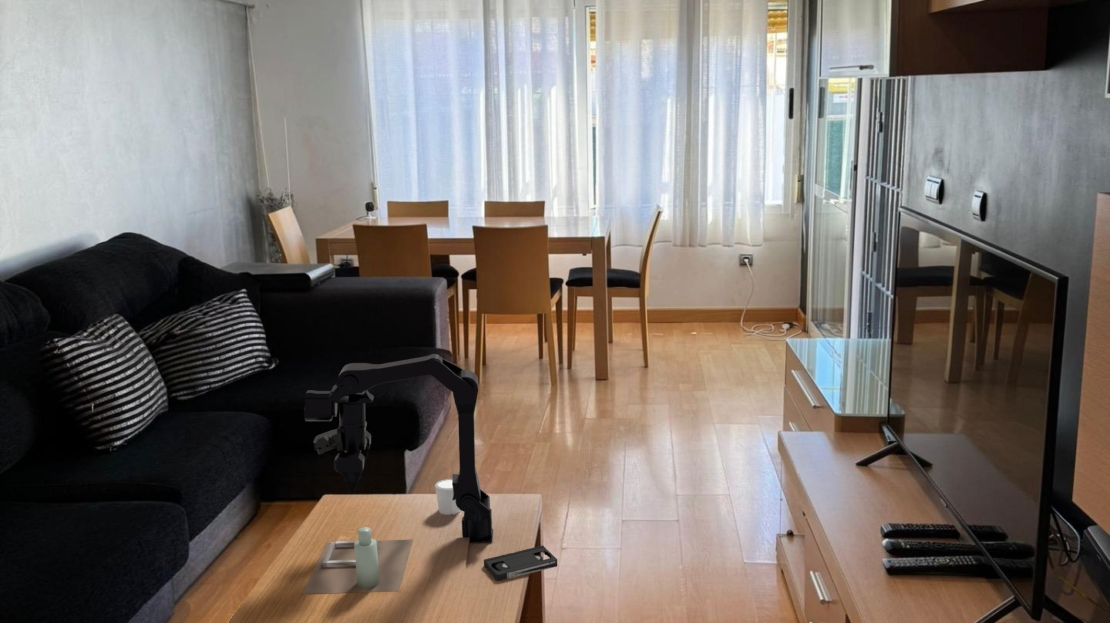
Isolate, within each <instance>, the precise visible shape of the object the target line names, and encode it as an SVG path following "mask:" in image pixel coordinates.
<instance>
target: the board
mask: <svg viewBox="0 0 1110 623" xmlns="http://www.w3.org/2000/svg"><path fill="white" fill-rule="evenodd" d="M375 540H376V542H377V555H378V568H379V584H378V585H376V586H374V587H371V588H361V587H359V586H358V585H357V574H356V561H355V548H354V543H355V542H356V541H357V540H342V541H341V540H340V541H338V540H337V541H336V540H335V541H331V542H329V541H326V543H325V544H324V546H323V549H322V550H321V552H320V555H319V557H318V559H317V562H316V563H315V566H314V568H313V570H312V572H311V574H310V577H309V578H308V581H307V583H306V585H305V587H304V589H303V591H302V594H301V595H303V596H304V595H305V596H306V595H329V594H330V595H332V594H333V595H334V594H353V593H354V594H355V593H380V592H382V593H384V592H388V593H389V592H400V590H401V589H400V588H401V586H402V581H403V578H404V576H405V571H406V567H407V565H408V561H409V556H410V553H411V549H412V545H413V542H414V539H413V538H412V539H386V540H385V539H384V540H378V539H375Z"/></svg>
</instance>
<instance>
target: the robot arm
mask: <svg viewBox="0 0 1110 623" xmlns="http://www.w3.org/2000/svg"><path fill="white" fill-rule="evenodd" d="M428 376H431V377H433V378H435V379H436V380H437V381H438V382H440V383H441V385H443V386H444V387H445V388H446V389H448V390H450V391H451V392H452V395H453V399H454V400H453V401H454V404H455V408H456V412H457V416H458V418H457V419H458V422H457V424H458V452H459V454H458V457H459V471H458V473H452V478H451V479H452V486H453V498H452V500H453V501H454V500H455V499H456V501H455V502H456V506H457V508H459V509H460V510H461V511H460V512H463V516H462V517H461V534H462V538H464V539H467V538H469V540H468V544H478V543H479V544H481V543H492V542H493V537H494V528H493V518H492V517H493V516H492V515H493V513H492V508H491V500H490V499H491V498H490V495H488V494H487V493H486V492H485V491H484V490H482V489H481V485H480V479H479V475H478V471H477V469H476V445H475V444H476V442H475V437H476V436H475V413H476V412H475V410H476V406H477V399H478V393H479V377H478V375H477V374H476V373H474V371H472V370H470V369H463V368H461V367H460V366H458V364H455V363H453V362H451V361H449V360H448V359H447V360H446V359H445V358H443V357H442V356H441V355H440V354H438V353H431V354H429V355H425V356H421V357H415V358H409V359H403V360H397V361H391V362H386V363H381V364H378V363H377V364H376V363H374V364H373V363H368V362H353V363H348V364H345V365H344V366H343V367H342V369H341V370H340V373H339V374H338V376H337V379H336V380H337V381H336V383H335V384H334V385H333V386H332V389H330V390H311V389H308V390H307V391H306V392H305V400H304V401H305V402H304V408H303V417H304V418H303V419H304V420H305V422H331V421H332V420H333V417H337V415H338V414H339V416H338V417H339V424H338V427H337V428H336V429H331V430H329V431H326V432H323V433H320V434H317V435H316V436H315V437H314V439H313V444H314V450H315V451H317V454H318V455H323V454H325V453H326V452H330V451H331V450H335V449H336V451H338V452H339V453H337V454H336V456H335V458H334V460H333V471H336V473H339V474H341V475H342V477H343V479H344V482H345V485H346V489H347V492H348V494H349V495H354V494H355V492H356V488H357V486H358V484H359V481H360V479H361V477H362V473H363V471H364V468H365V461H366V459H367V456H368V454H369V450H370V448H371V444H372V434H371V433H370V432H369V431H368V430H367V425H368V422H367V421H366V404H371V403H373V401H374V397H375V396H374V395H373V394H372V393H370V392H369V390H371V389H372V388H374V387H377V386H378V385H382V384H386V383H392V382H398V381H403V380H405V381H406V380H411V379H415V378H421V377H428ZM338 408H339V409H338ZM338 411H339V412H338ZM343 451H344V452H343Z"/></svg>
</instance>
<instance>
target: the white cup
mask: <svg viewBox="0 0 1110 623" xmlns="http://www.w3.org/2000/svg"><path fill="white" fill-rule="evenodd" d="M452 479H453V478H446V479H442V480H439V481H437V482H436V483H435V484H434V487H435V494H436V500H437V508H438V512H439V514H441V515H446V516H447V515H448V516H450V515H451V514H453V515H456V514H459V513H460V512H462V511H461V510H460V509H459V508H457V506H456V502H455V501H456V499H455V500H454V501H453V500H452V498H453V486H452Z"/></svg>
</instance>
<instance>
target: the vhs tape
mask: <svg viewBox="0 0 1110 623" xmlns="http://www.w3.org/2000/svg"><path fill="white" fill-rule="evenodd" d="M540 553H543V555H545V556H547V557H548V558H545V559H544V557H543V556H542V555H540ZM483 567H484V568H485V569H486V570H487V571H488V572H489V574H491V575H490V576H492V577H493V578H494V579H495V580H496V581H497V582H500V581H504V580H505V581H506V580H508V579H512V578H517V577H521V576H524V575H528V574H529V575H530V574H533V573H536V572H540V571H546V570H548V569H552V568H557V567H558V559H557V558H556V557H555V555H554V554H552V553H551V551H550V550H548V549H547V548H546V547H545V546H544V545H539V546H535V547H530V548H527V549H522V550H518V551H515V552H510V553H506V554H501V555H497V556H493V557H489V558H485V559H483Z"/></svg>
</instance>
